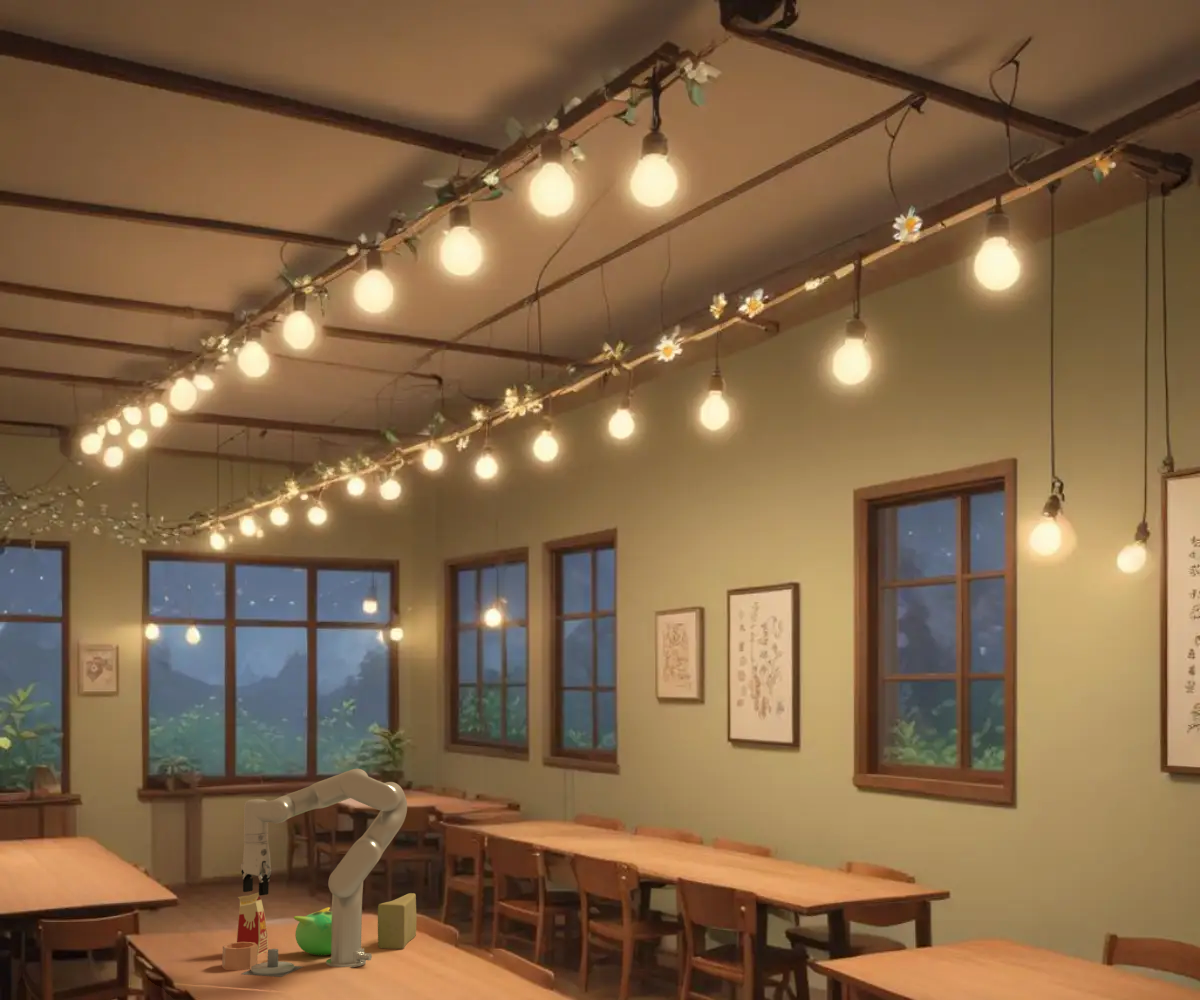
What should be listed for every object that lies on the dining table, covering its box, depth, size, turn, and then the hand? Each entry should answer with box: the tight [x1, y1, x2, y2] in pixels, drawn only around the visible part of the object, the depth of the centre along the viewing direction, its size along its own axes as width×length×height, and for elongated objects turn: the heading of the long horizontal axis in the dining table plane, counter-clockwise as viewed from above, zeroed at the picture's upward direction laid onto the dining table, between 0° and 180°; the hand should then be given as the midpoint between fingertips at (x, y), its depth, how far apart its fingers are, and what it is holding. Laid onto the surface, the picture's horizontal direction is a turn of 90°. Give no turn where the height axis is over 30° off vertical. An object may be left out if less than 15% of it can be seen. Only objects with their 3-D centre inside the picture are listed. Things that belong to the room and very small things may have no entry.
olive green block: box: [377, 892, 417, 950], centre depth 454 cm, size 22×10×15 cm, turn 167°
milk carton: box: [236, 891, 269, 956], centre depth 438 cm, size 9×9×20 cm
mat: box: [241, 965, 303, 978], centre depth 411 cm, size 14×14×1 cm
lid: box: [250, 948, 295, 976], centre depth 411 cm, size 13×13×6 cm
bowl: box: [221, 941, 258, 971], centre depth 417 cm, size 10×10×7 cm
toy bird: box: [293, 906, 332, 956], centre depth 435 cm, size 18×17×15 cm
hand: (255, 893), depth 422 cm, fingers open, 9 cm apart
